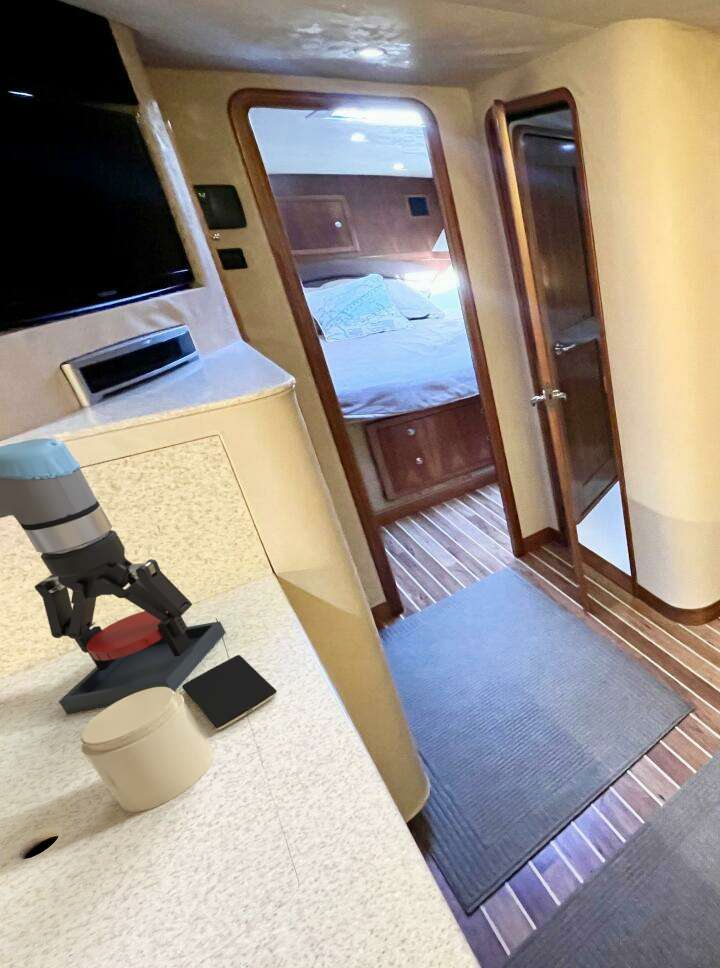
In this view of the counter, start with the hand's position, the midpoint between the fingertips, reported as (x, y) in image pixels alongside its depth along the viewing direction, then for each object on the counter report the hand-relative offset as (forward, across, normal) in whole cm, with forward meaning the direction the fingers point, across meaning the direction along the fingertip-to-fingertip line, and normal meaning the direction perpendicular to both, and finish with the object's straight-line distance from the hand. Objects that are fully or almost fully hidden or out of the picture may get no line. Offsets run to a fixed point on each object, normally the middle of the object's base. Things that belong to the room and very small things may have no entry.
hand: (146, 656), depth 87 cm
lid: (-5, 0, 0) cm, 5 cm away
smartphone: (+3, -16, +10) cm, 19 cm away
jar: (+3, -16, +23) cm, 28 cm away
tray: (+3, 0, 0) cm, 3 cm away
